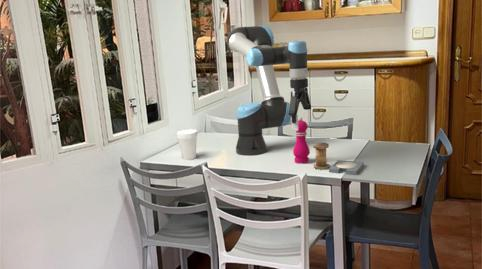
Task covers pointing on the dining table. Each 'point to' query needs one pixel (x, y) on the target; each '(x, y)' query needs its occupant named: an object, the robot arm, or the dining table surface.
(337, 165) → the notched board
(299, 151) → the pepper mill
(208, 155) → the dining table surface
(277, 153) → the dining table surface
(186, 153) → the foam cup
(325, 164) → the bobbin
